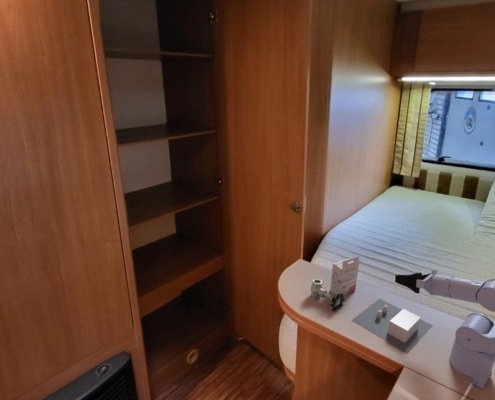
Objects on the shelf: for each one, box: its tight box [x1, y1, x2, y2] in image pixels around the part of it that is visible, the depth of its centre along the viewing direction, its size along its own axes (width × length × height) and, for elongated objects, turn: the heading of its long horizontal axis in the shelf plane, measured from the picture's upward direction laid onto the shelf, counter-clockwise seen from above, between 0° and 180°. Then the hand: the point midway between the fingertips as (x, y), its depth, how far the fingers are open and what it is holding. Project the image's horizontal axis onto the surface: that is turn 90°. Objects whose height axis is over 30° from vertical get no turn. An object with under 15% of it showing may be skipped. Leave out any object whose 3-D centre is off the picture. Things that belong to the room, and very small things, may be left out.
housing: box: [387, 308, 421, 343], centre depth 101 cm, size 9×5×4 cm, turn 131°
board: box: [351, 298, 433, 354], centre depth 105 cm, size 18×18×4 cm
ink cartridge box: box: [329, 256, 360, 296], centre depth 120 cm, size 9×5×15 cm, turn 119°
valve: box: [310, 278, 346, 312], centre depth 115 cm, size 7×7×12 cm
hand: (401, 278), depth 98 cm, fingers open, 7 cm apart
